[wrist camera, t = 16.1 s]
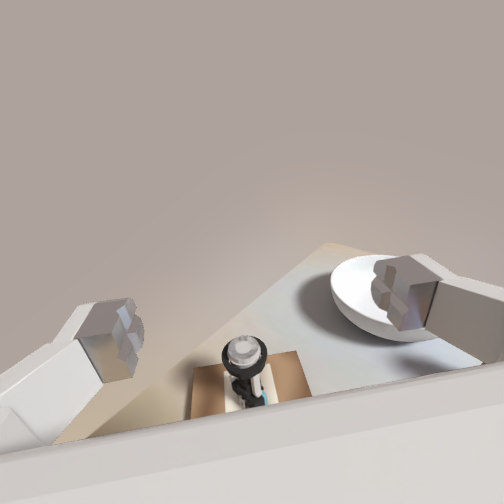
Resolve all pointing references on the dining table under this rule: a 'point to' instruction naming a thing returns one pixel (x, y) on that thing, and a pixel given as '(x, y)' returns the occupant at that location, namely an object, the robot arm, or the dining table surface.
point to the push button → (246, 369)
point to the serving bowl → (367, 300)
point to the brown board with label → (272, 379)
